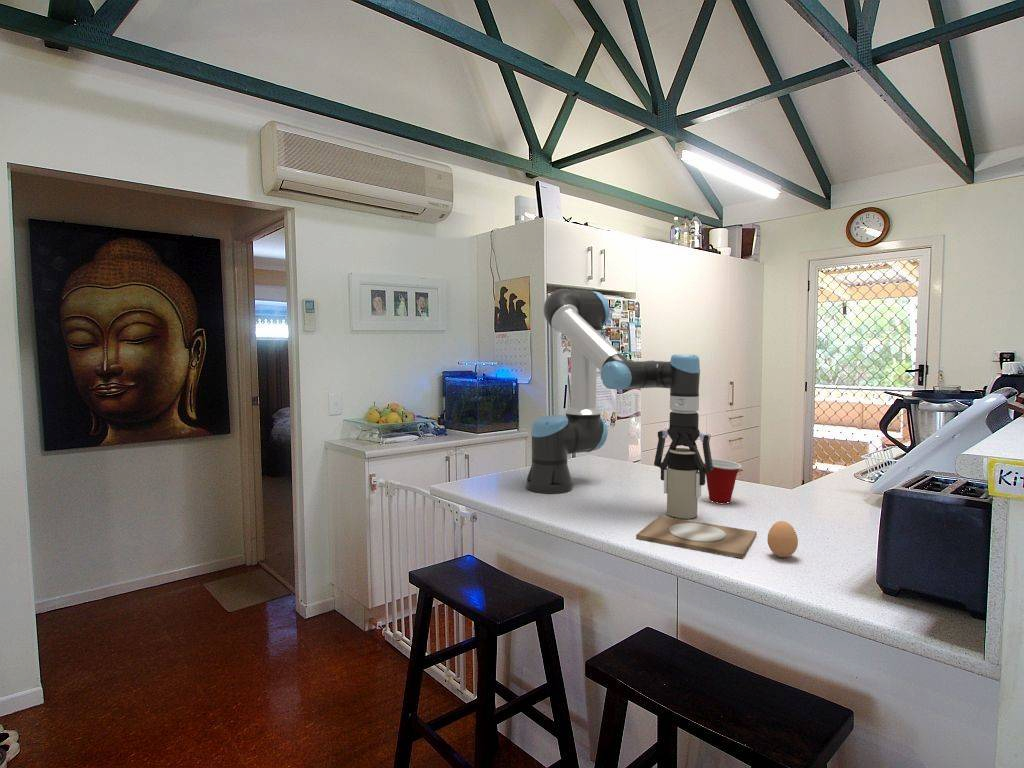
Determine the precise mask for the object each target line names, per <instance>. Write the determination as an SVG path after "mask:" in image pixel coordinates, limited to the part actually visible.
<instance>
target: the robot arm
mask: <svg viewBox="0 0 1024 768" xmlns="http://www.w3.org/2000/svg"><path fill="white" fill-rule="evenodd" d="M610 312H611V311H610V304H609V302H608V300H607V298H606V297H605V296H604V295H603V293H600V292H598V291H594V290H593V291H592V290H586V289H584V290H583V289H581V290H580V289H570V288H569V289H568V288H561V289H557V290H555V291H553V292H552V293H550V294H549V295H548V296H547V298H546V300H545V302H544V305H543V315H544V318H545V320H546V322H547V324H549V326H550V327H551V328H552V329H553V330H554V331H555V332H558V333H562V335H564V336H565V337H566V338H567V340H568V341H570V345H571V347H570V406H569V408H568V409H567V410H566V411H565V415H564V414H554V415H553V414H551V415H550V414H549V415H545V416H541V417H537V418H535V419H534V420H533V422H532V424H531V432H530V434H531V465H530V468H529V472H528V474H527V478H526V483H525V485H526V487H525V488H526V490H528V491H531V492H535V493H539V494H540V493H541V494H561V493H562V494H563V493H566V492H570V491H572V490H573V484H574V483H573V479H572V475H571V472H570V469H569V466H568V455H571V454H579V453H590V452H593V451H598V450H599V449H601V448H602V447H603V446H604V445H605V443H606V441H607V438H608V434H609V433H608V431H609V430H608V425H607V424H606V421H605V420H604V418H603V417H601V412H600V410H598V408H597V374H598V373H597V369H598V370H599V371H600V380H601V381H602V385H603V386H604V387H605V388H607V389H610V390H618V391H623V390H631V389H632V390H633V389H634V390H635V389H653V388H654V389H655V388H658V389H669V391H670V392H669V410H670V413H669V422H668V423H669V426H668V427H669V428H668V430H659V431H657V438H658V439H657V441H658V442H657V445H656V446H657V447H656V451H655V456H654V462H653V465H654V466H655V467H658V468H660V480H661V481H663V494H665V495H667V479H668V460H669V458H670V457H671V455H670V451H669V450H674V449H676V448H678V447H681V446H683V447H685V448H687V447H688V448H689V449H690V450H691V452H695V454H694V460H695V463H696V465H697V468H698V473H697V474H696V498H698V499H700V498H701V497H702V486H705V485H706V473H707V472H711V471H712V470H713V465H712V459H713V458H712V451H711V445H710V440H711V434H709V433H707V434H706V433H701V431H700V430H699V419H700V418H699V417H700V416H699V415H700V414H699V413H698V411H699V410H700V394H699V393H700V392H699V391H700V379H701V378H700V377H701V376H700V375H701V368H700V367H701V366H700V357H699V356H698V355H696V354H673V355H671V356H670V361H662V360H642V361H641V360H640V361H639V360H638V361H637V360H636V361H631V360H629V359H628V358H627V357H625V356H624V355H623V354H622V353H621V352H620V351H619V350H617V348H615V346H613V345H612V344H611V343H610V342H609V341H608V340H607V339H606V338H605V337H604V336H602V334H601V333H602V332H603V331H602V330H603V326H605V325H606V324H607V322H608V320H609V319H610V318H609V317H610V314H611V313H610ZM668 436H669V438H670V439H671V442H670V445H669V447H668V450H667V451H666V453H665V456H664V458H663V454H664V450H665V444H666V439H667V438H668ZM698 439H700V442H702V450H703V457H704V460H705V465H706V468H705V466H704V463H703V459H702V457H701V454H700V451H699V449H698V445H697V443H696V441H697V440H698Z"/></svg>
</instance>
